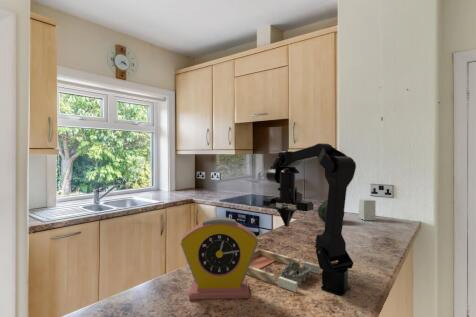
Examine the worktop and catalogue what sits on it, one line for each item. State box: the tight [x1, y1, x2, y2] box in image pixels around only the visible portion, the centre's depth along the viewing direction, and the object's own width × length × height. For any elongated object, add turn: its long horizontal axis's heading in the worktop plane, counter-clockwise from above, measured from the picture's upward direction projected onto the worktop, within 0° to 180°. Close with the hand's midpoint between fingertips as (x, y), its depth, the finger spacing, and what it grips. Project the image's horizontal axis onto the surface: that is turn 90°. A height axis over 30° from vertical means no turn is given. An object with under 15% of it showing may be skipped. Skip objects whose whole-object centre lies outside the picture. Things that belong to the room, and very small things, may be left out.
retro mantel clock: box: [180, 216, 258, 301], centre depth 81 cm, size 22×9×22 cm, turn 93°
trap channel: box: [246, 248, 301, 284], centre depth 98 cm, size 18×17×2 cm
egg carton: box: [279, 260, 311, 286], centre depth 90 cm, size 11×8×4 cm
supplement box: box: [358, 198, 376, 221], centre depth 172 cm, size 7×7×13 cm
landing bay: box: [277, 261, 322, 293], centre depth 89 cm, size 6×17×2 cm, turn 139°
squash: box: [317, 199, 345, 221], centre depth 167 cm, size 14×15×15 cm
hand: (286, 226), depth 104 cm, fingers closed
